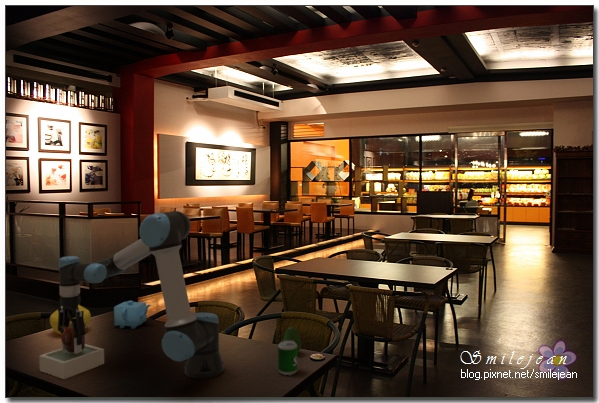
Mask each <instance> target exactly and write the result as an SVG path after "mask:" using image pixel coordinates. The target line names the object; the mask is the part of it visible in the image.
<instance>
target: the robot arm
mask: <svg viewBox="0 0 599 403" xmlns="http://www.w3.org/2000/svg"><path fill="white" fill-rule="evenodd" d="M191 226H192V225H191V220H190V218H189V217H188V216H187V215H186V214H185V213H184V212H181V211H180V210H179V211H178V210H173V211H164V212H156V213H153V214H150V215H148V216H146V217H145V218H144V219H143V220H142V222H141V223H140V226H139V237H140V239H137V240H136V241H134V242H132V243H131V244H129V245H128V246H126V247H124V248H123V249H121V250H119V251H118V252H116V253H114V254H113V255H112V256H109V257H108V258H106V259H105V258H103V259H101V260H97V261H92V262H80V257H78V256H76V255H71V256H70V255H68V256H62V257H60V258H59V260H58V279H59V285H58V286H59V305H60V307H58V308H57V310H58V313H59V314H58V331H60V333H61V334H62V333H63V332H64V329H63V326H65V327H69V323H70V321H71V322H72V325H73V329H74V333H75V337H74V353H75V354H77V353H79V352H82V336H84V335H85V336H86V328H85V326H84V318H83V315H84V311H79V308H78V305H80V304H81V283H89V284H90V283H91V284H99V283H100V284H101V283H102V282H103V281H104V280H105V279H107V278H109V277H114V276H117V275H118V276H119V275H121V274H123V273H124V272H125V271H126V270H127V268H129V267H131V266H133V265H135V264H137V263H138V262H140V261H141V260H143V259H145V258H146V257H149V256H150V255H153V256H154V258H155V263H156V268H157V273H158V279H159V283H160V288H161V292H162V296H163V297H162V298H163V302H164V307H165V313H166V317H167V321H166V322H165V324H164V330H165V333H164V335H163V338H162V339H161V348H162V351H163V353H164V354H165V355H166V357H168V358H170V360H172V361H175V362H183V361H186V363H185V365H184V374H185V376H186V377H188V378H192V379H197V380H199V379H200V380H201V379H202V380H204V379H210V378H214V377H217V376H219V375H221V374H222V373H223V372H224V371H225V369H224V368H225V365H224V362H223V360H222V356H221V352H220V328H219V327H220V323H219V316H218V315H217V314H215V313H212V312H192V311H191V306H190V302H189V296H188V290H187V286H186V281H185V277H184V272H183V267H182V266H183V265H182V262H181V256H180V249H181V248H182V246H183V245H182V240H184V239H186V238H187V236H189V234H190V232H191V228H192V227H191ZM61 306H63V307H61ZM75 317H76V318H75ZM73 318H74V319H73ZM61 347H62V350H65V349H66V347H65V345H63V343H62V342H61Z"/></svg>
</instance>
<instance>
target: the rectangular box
mask: <svg viewBox="0 0 599 403" xmlns="http://www.w3.org/2000/svg"><path fill="white" fill-rule="evenodd" d="M38 357H39V358H38V359H39V360H38V361H39V371H40V372H43V373H45V374H47V373H48V375H50V374H51V376H54V377H55V378H59V379H62V380H65V379H68V378H71V377H74V376H76V375H79V374H81V373H84V372H87V371H89V370H92V369H95V368H97V367H100V366H103V365H104V364H105V349H104V348H101V347H99V346H94V345H90V344H86V343H85V348H84V349H83V350H82V352H79V353H77V354H75V353H74V352H68V351H66V349H65V350H62V348H58V349H55V350H52V351H49V352H46V353H43V354H40V355H39V356H38ZM102 364H103V365H102ZM99 365H100V366H99Z"/></svg>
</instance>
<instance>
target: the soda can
mask: <svg viewBox="0 0 599 403" xmlns="http://www.w3.org/2000/svg"><path fill="white" fill-rule="evenodd" d="M277 353H278V354H277V359H278V360H277V361H278V362H277V366H278V368H277V369H278V372H279V373H280V374H281V375H282V374H283V376H286V375H289V376H293V375H295V374H296V373H297V372H298V353H297V344H296V343H295V342H294V341H292V340H284V341H283V340H281V341H280V342H279V343H278V345H277ZM294 373H295V374H294ZM292 374H293V375H292Z"/></svg>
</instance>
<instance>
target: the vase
mask: <svg viewBox="0 0 599 403" xmlns="http://www.w3.org/2000/svg"><path fill="white" fill-rule="evenodd" d="M60 307H63V306H61V305H60ZM78 308H79V311H84V315H83V318H84V323H86V327H85V329H86V328H87V327H88V326H89V323H90V321H91V318H92V317H91V312H90V310H89V309H87V308H86V307H84V306H82V305H80V304H79V305H78ZM58 314H59V313H58V309H56V310H55V311H54V312H53V313H52V314H51V315H50V317H49V324H50V326H51V328H52V330H53V331H54V332H55V333H56V334H58V335H59V336H61V335H62V334H61V333H60V331H58ZM75 318H76V317H75ZM73 319H74V318H73ZM70 323H72V322H71V321H70Z"/></svg>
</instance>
